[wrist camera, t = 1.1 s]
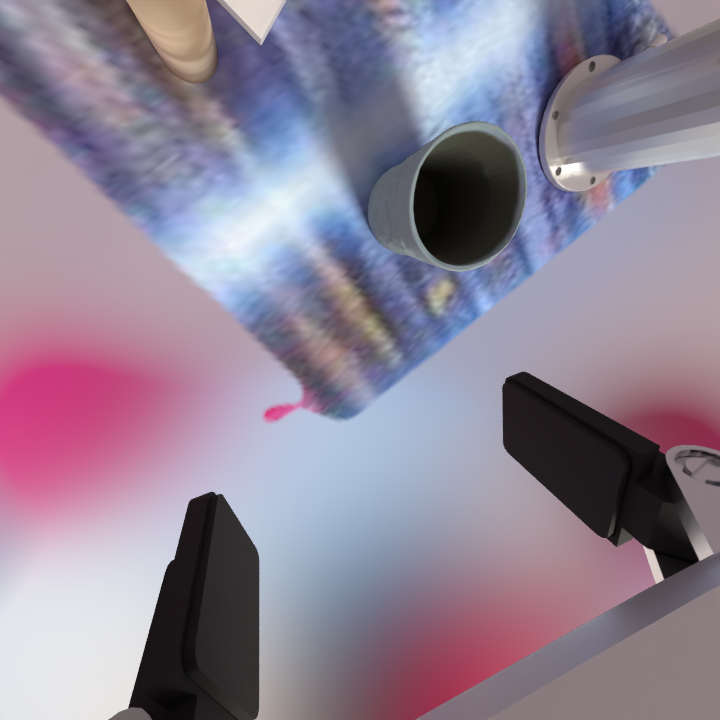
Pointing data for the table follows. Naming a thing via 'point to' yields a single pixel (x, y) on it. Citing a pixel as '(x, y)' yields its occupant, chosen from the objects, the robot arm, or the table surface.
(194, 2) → the barrel peg
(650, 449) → the robot arm
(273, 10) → the white square-hole tray
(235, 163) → the table surface
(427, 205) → the grey cylindrical pot
